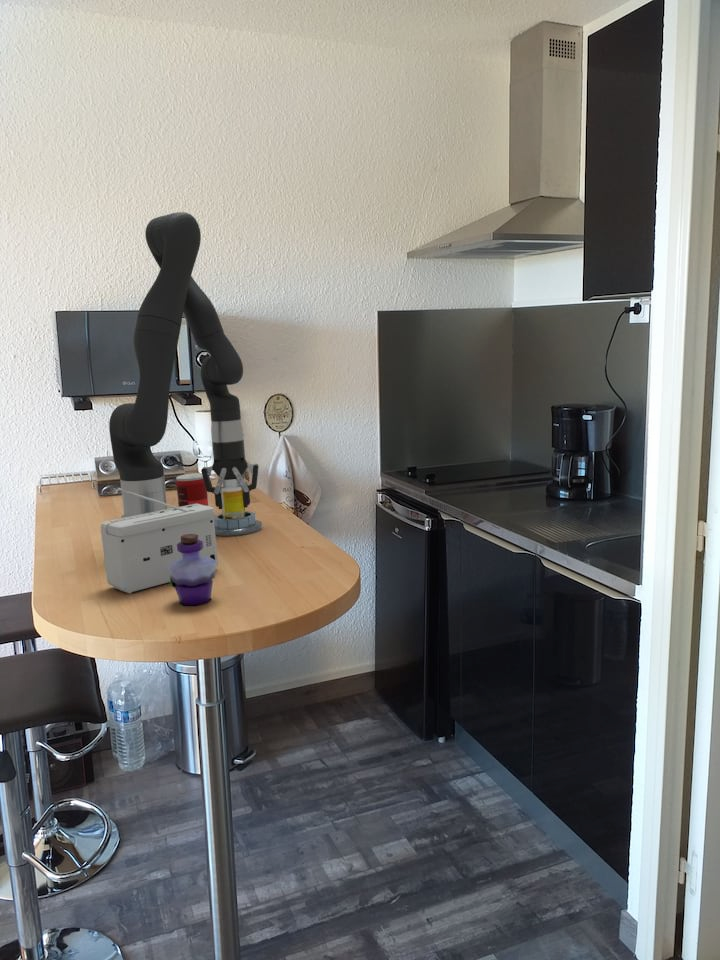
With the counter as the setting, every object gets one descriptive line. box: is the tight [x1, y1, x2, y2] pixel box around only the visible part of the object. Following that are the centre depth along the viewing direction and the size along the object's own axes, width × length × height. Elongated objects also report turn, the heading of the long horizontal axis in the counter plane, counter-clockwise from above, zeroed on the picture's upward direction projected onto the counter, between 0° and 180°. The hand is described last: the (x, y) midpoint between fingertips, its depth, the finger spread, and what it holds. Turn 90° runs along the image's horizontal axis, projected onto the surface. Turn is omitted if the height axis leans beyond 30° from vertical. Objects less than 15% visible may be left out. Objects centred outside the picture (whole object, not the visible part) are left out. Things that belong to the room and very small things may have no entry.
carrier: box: [214, 510, 263, 538], centre depth 185 cm, size 13×13×4 cm
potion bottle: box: [167, 534, 217, 607], centre depth 132 cm, size 9×9×12 cm
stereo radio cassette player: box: [100, 487, 219, 595], centre depth 145 cm, size 21×8×20 cm, turn 131°
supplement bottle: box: [220, 479, 246, 519], centre depth 184 cm, size 6×6×10 cm
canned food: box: [175, 473, 209, 507], centre depth 203 cm, size 8×8×11 cm
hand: (233, 507), depth 184 cm, fingers closed on supplement bottle, 5 cm apart
